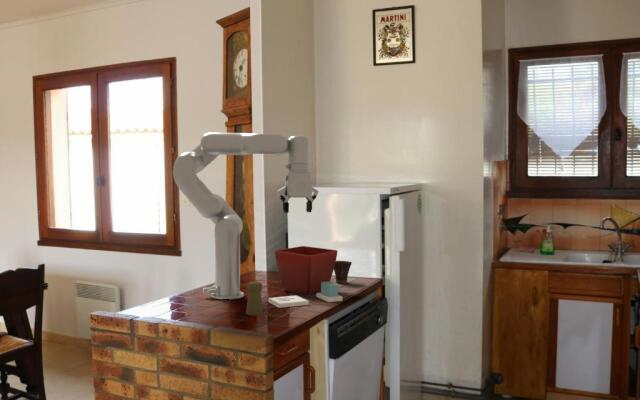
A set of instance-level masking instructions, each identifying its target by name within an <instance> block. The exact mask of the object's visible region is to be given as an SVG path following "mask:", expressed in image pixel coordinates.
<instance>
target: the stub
mask: <svg viewBox="0 0 640 400" xmlns="http://www.w3.org/2000/svg"><path fill="white" fill-rule="evenodd" d="M316 298H318V299H320V300H323V301H325V302H328V303H334V302H343V296H342V295H339V284H338V283H336V282H335V283H334V282H332V281H331V280H330V281H329V282H321V292H317V293H316Z"/></svg>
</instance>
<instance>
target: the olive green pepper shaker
mask: <svg viewBox="0 0 640 400" xmlns="http://www.w3.org/2000/svg"><path fill="white" fill-rule="evenodd" d="M246 288H247V291H248V295H247V302H246V309H245V310H246V311H245V315H247V314H248V315H247V316H261V315H264V308H263V307H264V306H263V300H262V290H263V283H262V282H261V281H255V280H254V281H250V282H248V284H247V286H246Z"/></svg>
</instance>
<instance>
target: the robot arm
mask: <svg viewBox="0 0 640 400" xmlns="http://www.w3.org/2000/svg"><path fill="white" fill-rule="evenodd" d="M259 154H260V155H277V156H281V155H282V156H283V155H288V163H287V164H285V166H284V167H285V169H287V170H288V171H286V175H285V179H284V186H283V187H281V188H280V189H278V190H277V191H276V193H277V197H278V198H279V199H280V200H281V202H282V210H283V213H285V214H289V212H290V203H289V202H288V201H290V199H291V198H298V199H300V198H302V199H303V198H304V199H305V200H306V205H305V206H306V207H305V208H306V209H305V211H306V213H312V210H313V203H314V201H315V199H316V198H317V196H318V194H319V190H318V189H316V188H314V187H313V183H312V176H311V172H310V171H309V139H308V137H307V136H305V135H292V136H284V135H282V134H279V133H278V134H277V133H249V132H218V131H216V132H207V133H204V134H203V135H202V137H201V139H200V142H199V144H198V145H197V146H196V147H195V148H194V149H192V150H191V151H186V152H183V153H181V154H180V155H178V156H177V158H176V159H175V161H174V163H173V167H172V175H173V179H174V183H175V184H176V186H177V188H178V189H179V190H180V191H181V193H182V194H183V195H184V196H185V197H186V198H187V201H189V202H190V203H191V204H192V206H194V208H195V209H196V210H197V212H198V213H199V214H200V215H201V216H202V217H203V218H205V219H209V220H210V221H211V222H212V223H213V224H214V226H215V227H214V242H215V243H214V244H215V245H214V246H215V247H214V249H215V251H214V252H215V253H214V255H215V258H214V260H215V265H214V267H215V268H214V270H215V271H214V274H215V276H214V277H215V279H214V280H215V281H214V282H215V283H214V284H212V286H210V287H203V288H202V293H203V294H210V297H211V298H213V299H216V300H223V299H229V300H237V299H242V298H243V297H244V296H245V293H244V292H243V291H241V290H240V289H241V233H242V231H243V228H244V227H243V226H244V224H243V220H242V218H241V217H240V216H239V214H238V213H237V212H236V211H235V210H234V209H233V208H232V207H231V205H229V203H228V202H227V201H226V200H225V199H224V198H223V197H222V195H219V194H218V193H213V192H212V191H211V190H210V189H209V188H208V186H206V184H205V183H204V182H203V181H202V179H200V177H198V175H197V174H199V173H200V172H202V171H203V170H204V169H206V168H207V167H208V166H209V165H210V164H211V163H212V162H213V161H215V160H216V158H218V156H221V155H222V156H223V155H224V156H225V155H226V156H227V155H228V156H246V155H259ZM283 193H284V195H283Z"/></svg>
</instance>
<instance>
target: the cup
mask: <svg viewBox="0 0 640 400" xmlns="http://www.w3.org/2000/svg"><path fill="white" fill-rule="evenodd" d="M352 263H353V262H352V261H349V260H347V261H346V260H336V262H335V267H334V270H333V273H334V276H335V277H334V278H335V284H338V285H339V284H340V285H346V284H348V278H349V277H348V276H349V272H350V269H351V266H352ZM345 283H346V284H345Z"/></svg>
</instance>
